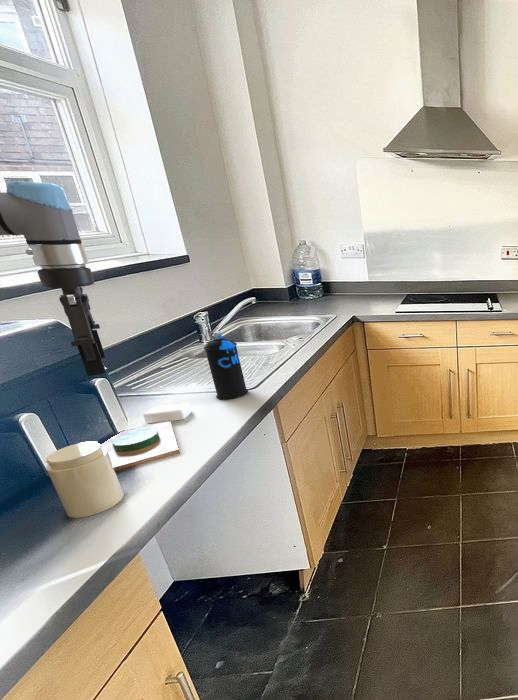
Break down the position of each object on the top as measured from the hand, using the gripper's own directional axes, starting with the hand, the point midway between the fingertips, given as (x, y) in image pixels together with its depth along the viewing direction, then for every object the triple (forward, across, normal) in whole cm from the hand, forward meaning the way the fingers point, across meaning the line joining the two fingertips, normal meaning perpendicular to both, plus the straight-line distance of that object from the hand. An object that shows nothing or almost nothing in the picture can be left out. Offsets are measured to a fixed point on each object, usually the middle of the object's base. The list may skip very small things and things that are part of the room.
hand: (97, 366), depth 90 cm
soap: (+21, -14, +9) cm, 27 cm away
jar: (+21, +21, -5) cm, 31 cm away
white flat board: (+21, -1, +2) cm, 21 cm away
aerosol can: (+21, -21, +25) cm, 39 cm away
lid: (+19, -1, +2) cm, 19 cm away
